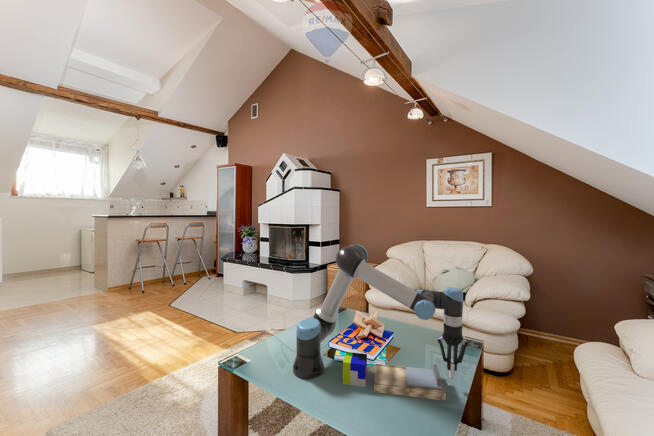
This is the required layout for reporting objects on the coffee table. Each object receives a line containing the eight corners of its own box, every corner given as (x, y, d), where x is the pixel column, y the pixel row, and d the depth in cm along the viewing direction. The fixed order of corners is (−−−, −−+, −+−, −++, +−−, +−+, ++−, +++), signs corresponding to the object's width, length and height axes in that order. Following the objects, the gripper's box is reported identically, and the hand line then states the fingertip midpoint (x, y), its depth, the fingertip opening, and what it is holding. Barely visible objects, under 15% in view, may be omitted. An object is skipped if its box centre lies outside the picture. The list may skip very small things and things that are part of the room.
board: (374, 391, 129) (374, 384, 129) (375, 369, 147) (375, 363, 147) (445, 400, 123) (445, 392, 123) (438, 376, 141) (438, 369, 141)
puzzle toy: (365, 387, 133) (365, 364, 132) (342, 384, 135) (342, 362, 134) (366, 374, 143) (366, 353, 142) (345, 372, 145) (345, 351, 144)
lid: (407, 385, 128) (407, 376, 128) (405, 368, 142) (405, 360, 142) (442, 389, 125) (442, 380, 125) (436, 371, 139) (436, 363, 139)
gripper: (438, 326, 128) (437, 380, 129) (471, 328, 125) (470, 384, 126) (435, 319, 135) (434, 371, 136) (466, 322, 133) (465, 374, 134)
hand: (451, 377), depth 131 cm, fingers closed
